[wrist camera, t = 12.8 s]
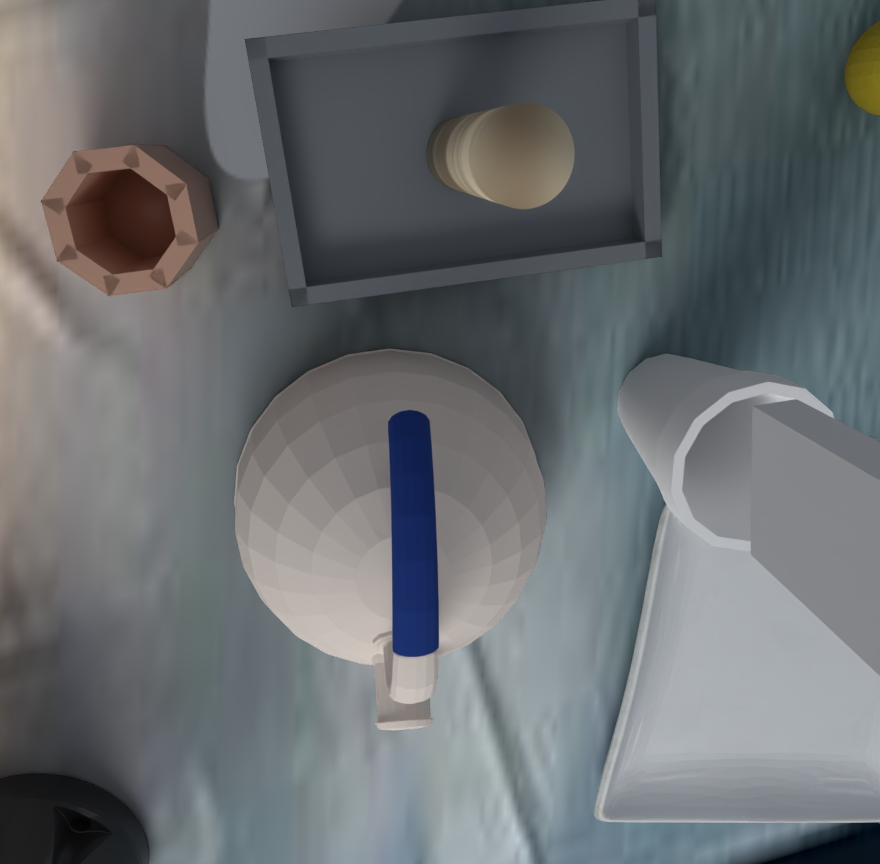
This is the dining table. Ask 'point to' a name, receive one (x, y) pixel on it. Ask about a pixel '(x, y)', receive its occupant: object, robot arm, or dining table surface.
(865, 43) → the lemon
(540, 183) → the peg
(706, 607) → the square plate
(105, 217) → the pink octagonal cup
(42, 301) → the dining table surface
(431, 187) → the tray
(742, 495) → the foam cup
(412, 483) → the kettle
